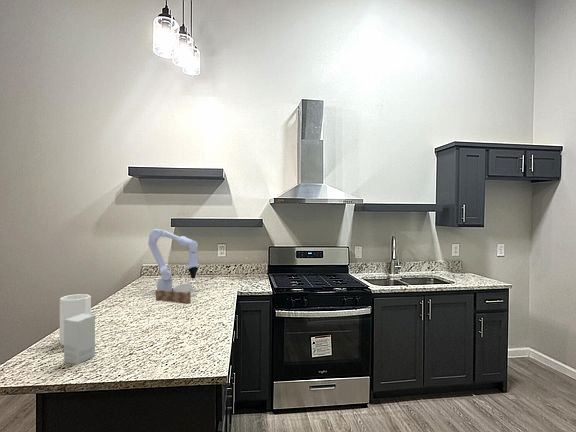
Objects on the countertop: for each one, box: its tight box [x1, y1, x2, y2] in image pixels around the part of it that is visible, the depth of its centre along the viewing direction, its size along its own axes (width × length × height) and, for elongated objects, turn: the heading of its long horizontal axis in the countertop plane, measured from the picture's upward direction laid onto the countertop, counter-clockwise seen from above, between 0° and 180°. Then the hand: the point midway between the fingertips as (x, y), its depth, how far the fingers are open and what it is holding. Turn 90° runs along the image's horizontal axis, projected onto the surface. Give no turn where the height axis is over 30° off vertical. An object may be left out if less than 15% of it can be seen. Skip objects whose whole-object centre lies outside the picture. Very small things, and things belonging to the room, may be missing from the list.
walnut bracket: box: [155, 289, 192, 304], centre depth 223 cm, size 24×9×6 cm, turn 70°
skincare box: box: [63, 313, 96, 365], centre depth 131 cm, size 8×7×16 cm
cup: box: [59, 293, 92, 347], centre depth 150 cm, size 11×11×18 cm
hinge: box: [171, 283, 197, 299], centre depth 229 cm, size 17×5×10 cm, turn 148°
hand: (193, 278), depth 246 cm, fingers closed
